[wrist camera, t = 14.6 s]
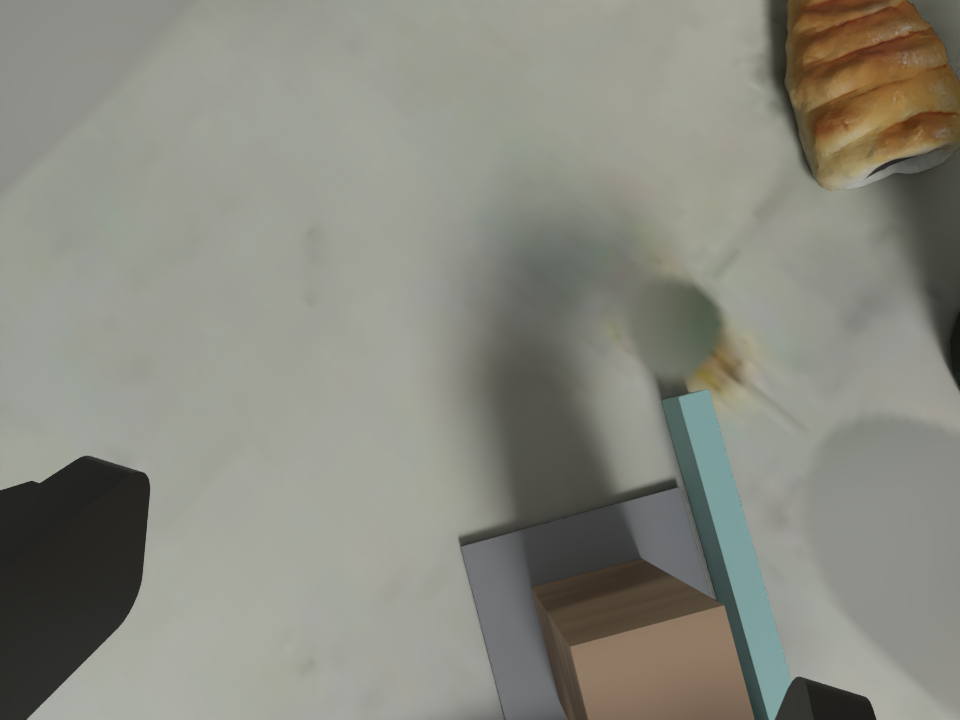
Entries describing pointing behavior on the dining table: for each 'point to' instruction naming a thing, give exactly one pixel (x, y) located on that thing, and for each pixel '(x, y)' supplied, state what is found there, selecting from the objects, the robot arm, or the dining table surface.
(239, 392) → the dining table surface
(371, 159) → the dining table surface
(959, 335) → the potion bottle
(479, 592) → the teal corner fixture
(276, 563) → the dining table surface
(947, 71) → the pastry
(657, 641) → the walnut block
